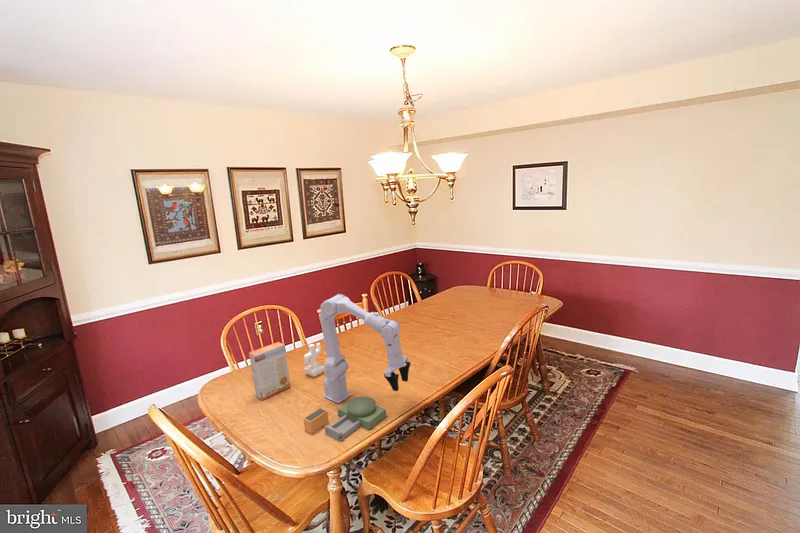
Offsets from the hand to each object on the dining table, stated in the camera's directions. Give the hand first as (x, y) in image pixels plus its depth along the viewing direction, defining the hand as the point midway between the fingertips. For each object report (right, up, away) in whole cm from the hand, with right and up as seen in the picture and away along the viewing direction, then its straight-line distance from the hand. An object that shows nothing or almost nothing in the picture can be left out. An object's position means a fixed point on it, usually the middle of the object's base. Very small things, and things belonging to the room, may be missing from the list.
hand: (400, 385), depth 148 cm
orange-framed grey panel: (-31, -14, -6) cm, 34 cm away
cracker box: (-56, -9, +21) cm, 60 cm away
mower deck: (-18, -12, -5) cm, 22 cm away
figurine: (-41, -6, +35) cm, 54 cm away
